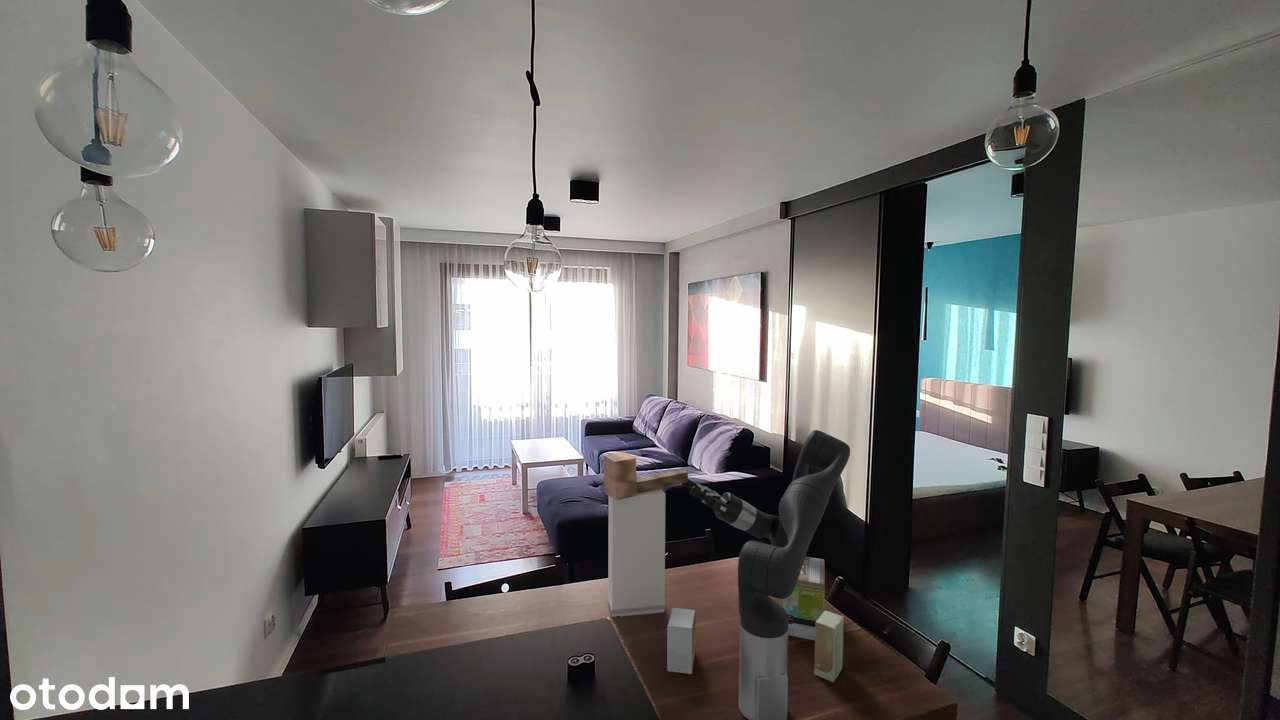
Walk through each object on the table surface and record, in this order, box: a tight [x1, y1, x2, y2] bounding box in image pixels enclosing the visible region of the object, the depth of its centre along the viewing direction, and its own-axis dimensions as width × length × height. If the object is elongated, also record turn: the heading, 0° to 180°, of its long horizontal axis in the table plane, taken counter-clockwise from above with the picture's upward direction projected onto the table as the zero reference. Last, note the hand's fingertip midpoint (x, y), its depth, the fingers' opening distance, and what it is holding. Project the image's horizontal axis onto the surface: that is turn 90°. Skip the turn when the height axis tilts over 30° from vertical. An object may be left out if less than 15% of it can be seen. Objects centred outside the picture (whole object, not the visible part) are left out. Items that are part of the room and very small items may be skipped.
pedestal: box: [607, 488, 666, 618], centre depth 141 cm, size 14×8×32 cm, turn 101°
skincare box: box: [813, 609, 845, 683], centre depth 116 cm, size 6×4×12 cm
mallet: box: [602, 451, 689, 500], centre depth 141 cm, size 23×7×10 cm, turn 118°
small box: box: [666, 607, 696, 675], centre depth 119 cm, size 8×6×10 cm
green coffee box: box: [781, 556, 826, 641], centre depth 135 cm, size 15×10×15 cm, turn 161°
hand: (687, 485), depth 143 cm, fingers open, 8 cm apart
